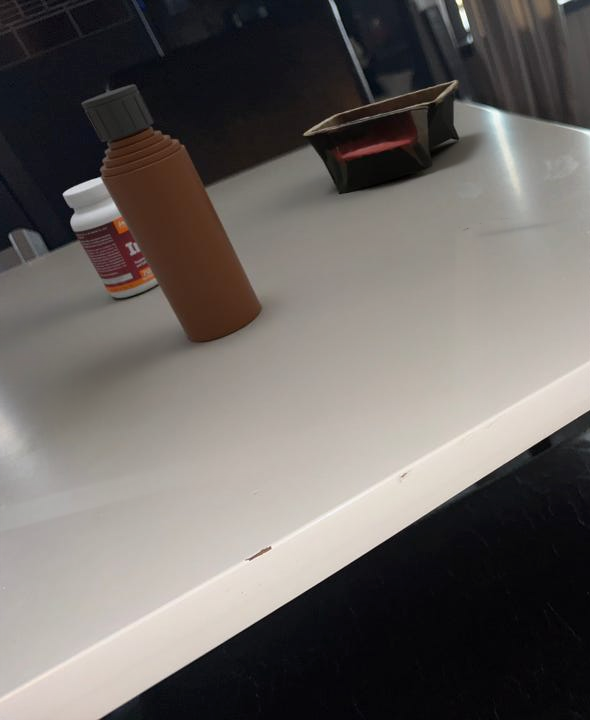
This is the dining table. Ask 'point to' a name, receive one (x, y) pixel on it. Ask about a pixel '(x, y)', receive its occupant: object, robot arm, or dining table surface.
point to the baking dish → (385, 137)
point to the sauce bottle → (179, 233)
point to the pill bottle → (108, 240)
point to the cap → (118, 113)
